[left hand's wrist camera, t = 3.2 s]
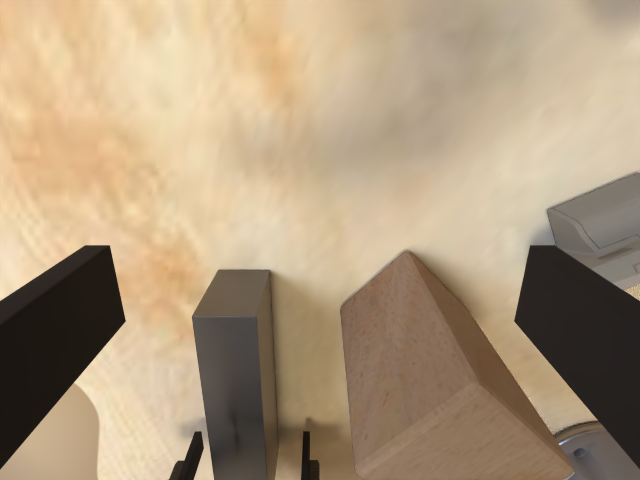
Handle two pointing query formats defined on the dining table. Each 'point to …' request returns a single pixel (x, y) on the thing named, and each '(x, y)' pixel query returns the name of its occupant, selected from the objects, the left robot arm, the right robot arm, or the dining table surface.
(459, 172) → the dining table surface
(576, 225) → the digital clock
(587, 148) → the dining table surface
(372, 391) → the wooden block
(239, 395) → the bar
